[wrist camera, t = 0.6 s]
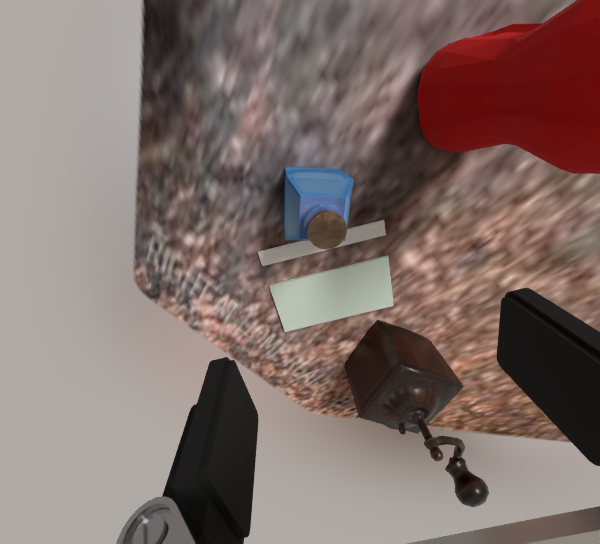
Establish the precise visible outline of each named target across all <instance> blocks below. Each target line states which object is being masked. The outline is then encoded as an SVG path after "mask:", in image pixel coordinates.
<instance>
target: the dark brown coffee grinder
mask: <svg viewBox="0 0 600 544" xmlns="http://www.w3.org/2000/svg"><path fill="white" fill-rule="evenodd" d="M345 369H346V372H347V375H348V379H349V383H350V386H351V390H352V393H353V397H354V401H355V404H356V408H357V411H358V415H359V417H360V418H364V419H367V420H370V421H373V422H377V423H381V424H384V425H386V426H387V427H389V428H392V429H397V430H399V432H400V433H401V434H405V430H406V431H410V432H414V433H419V432H420V431H421V432H422V434H423V436H424V439H425V442H424V445H425V446H426V447H427V448H428V449H429V450H430V454H431V457H432V458H433V459H434V460H435V461H440V460H441V459H442V458H443V453H442V452H441V450H440V449H439V448H438V446H439V445H444V444H450V445H455V446H456V447H455V450H454V456H453V457H452V458H450V460H449V464H448V465H447V467H446V468H445V470H446V471H447V472H449V473H450V474H451V475H452V477H453V478H454V483H455V493H456V495H457V497H458V499H459V500H460V501H461V503H463V504H464V505H468V506H471V507H476V506H479V505H481V504H483V503H484V502H485V501H486V499H487V496H488V494H489V491H488V487H487V485H486V484H485V482H484V481H483V480H482V479H480V478H479V477H477V476H475V475H474V474H472V473H471V472H470V471H468V468H467V466H466V461H465V460H464V459H463V458H461V456H462V454H463V452H464V449H465V446H464V444H463V442H462V440H460V439H458V438H453V437H447V436H439V437H436V438H433V437H432V435H431V434H430V431H429V429H428V428H427V426H426V425H427V424H428V423H429V422H430V421H431V420H432V419H433V418H434V417H435V416H436V415H437V414H438V413H439V412H440V411H441V410H442V409H443V408H444V407H445V406H446V405H447V404H448V403H449V402H450V401H451V400H452V399H453V398H454V396H455V395H456V394H457V393H458V392H459V391H460V390H461V389H462V388H463V385H462V383H461V382H460V380H459V379H458V378H457V376H456V375H455V373H454V372H453V371H452V369H451V368H450V367H449V365H448V364H447V362H446V361H445V360H444V358H443V357H442V356H441V354H440V353H439V352H438V350H437V349H436V348H435V347H434V345H433V344H432V342H431V341H430V340H428V339H427V338H425V337H423V336H421V335H419V334H417V333H414V332H411V331H409V330H406V329H404V328H401V327H398V326H395V325H392V324H389V323H386V322H383V321H380V320H377V321H376V323H375V324H374V325H373V326H372V327H371V328H370V330H369V331H368V332H367V334H366V335H365V336H364V338H363V339H362V340H361V342H360V343H359V345H358V346H357V347H356V349H355V350H354V351H353V353H352V354H351V356H350V357H349V358H348V360H347V361H346V364H345Z"/></svg>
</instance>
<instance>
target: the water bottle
mask: <svg viewBox="0 0 600 544" xmlns="http://www.w3.org/2000/svg"><path fill="white" fill-rule="evenodd" d="M418 103H419V124H420V127H421V130H422V133H423V136H424V138H425V139H426V140H427V141H428V142H429V143H430V144H431V145H432V146H433V147H435V148H438V149H440V150H443V151H451V152H463V151H469V150H474V149H480V148H485V147H491V146H496V145H501V144H511V145H516V146H518V147H520V148H522V149H524V150H526V151H528V152H529V153H531V154H533V155H535V156H537V157H539V158H541V159H543V160H544V161H546V162H548V163H550V164H552V165H554V166H556V167H558V168H559V169H562V170H565V171H568V172H571V173H595V174H600V0H577V1H575V2H574V3H572V4H571V5H569V6H568V7H567V8H565V9H564V10H562V11H561V12H559V13H558V14H556V15H555V16H553V17H552V18H550V19H549V20H547V21H546V22H544V23H532V24H512V25H509V26H507V27H504V28H501V29H499V30H496V31H493V32H490V33H486V34H483V35H479V36H476V37H473V38H464V39H461V40H458V41H456V42H453V43H450V44H448V45H446V46H445V47H443V48H442V49H440V50H439V51H437V52H436V53H435V54H434V56H433V57H432V58H431V59H430V61H429V62H428V64H427V65H426V67H425V68H424V69H423V71H422V75H421V80H420V85H419V90H418Z"/></svg>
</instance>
